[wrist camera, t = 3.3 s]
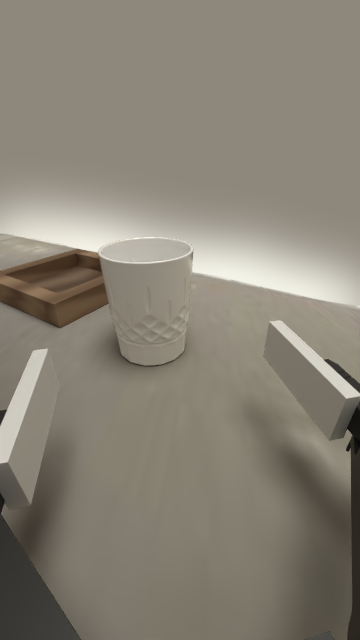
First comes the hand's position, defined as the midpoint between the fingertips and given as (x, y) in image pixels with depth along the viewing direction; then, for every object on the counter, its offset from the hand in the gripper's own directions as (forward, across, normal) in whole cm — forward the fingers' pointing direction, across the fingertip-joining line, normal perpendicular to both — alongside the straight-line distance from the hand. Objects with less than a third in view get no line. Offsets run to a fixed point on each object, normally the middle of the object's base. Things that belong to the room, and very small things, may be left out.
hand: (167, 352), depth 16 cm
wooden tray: (+27, -10, -6) cm, 29 cm away
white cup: (+10, 0, -6) cm, 12 cm away
